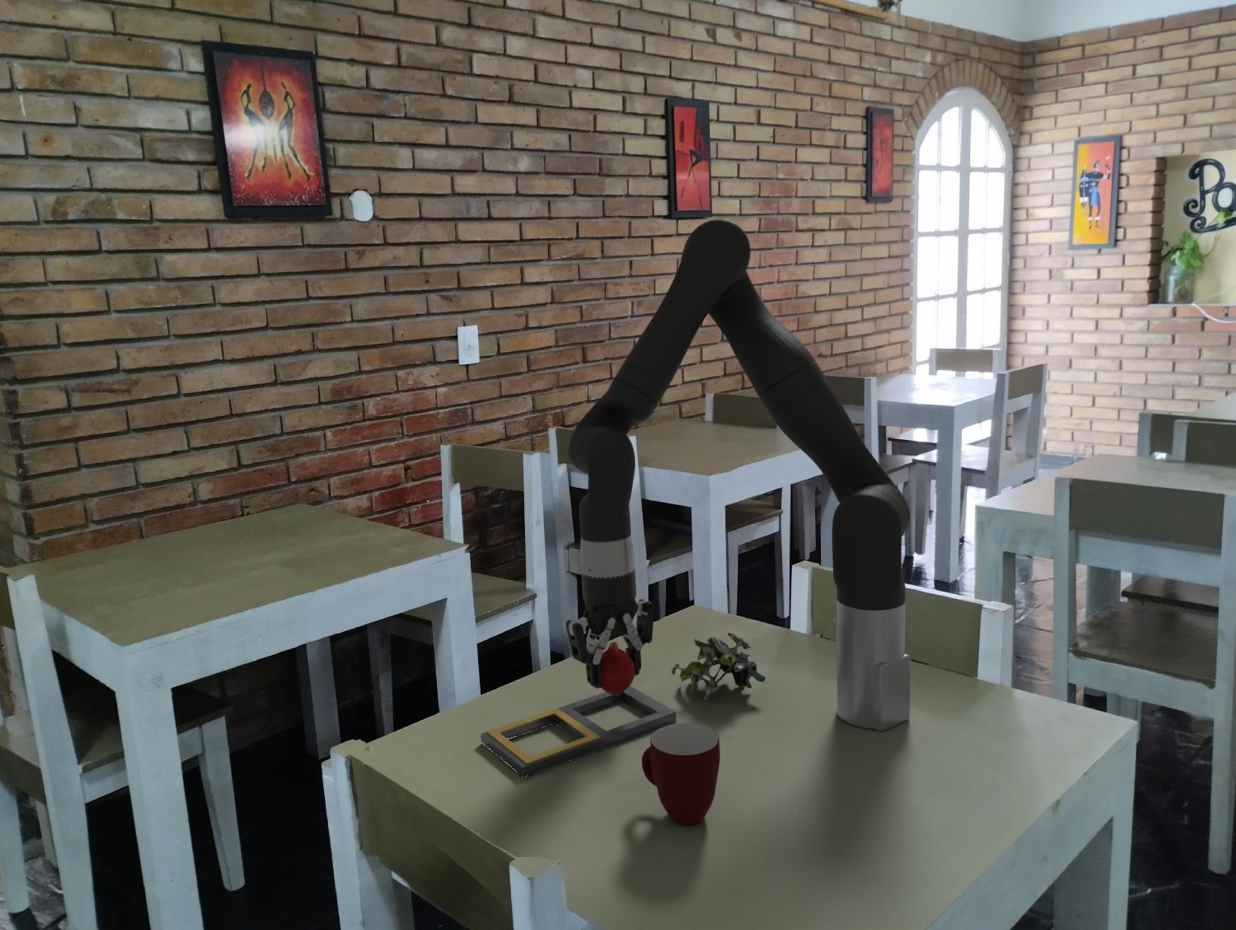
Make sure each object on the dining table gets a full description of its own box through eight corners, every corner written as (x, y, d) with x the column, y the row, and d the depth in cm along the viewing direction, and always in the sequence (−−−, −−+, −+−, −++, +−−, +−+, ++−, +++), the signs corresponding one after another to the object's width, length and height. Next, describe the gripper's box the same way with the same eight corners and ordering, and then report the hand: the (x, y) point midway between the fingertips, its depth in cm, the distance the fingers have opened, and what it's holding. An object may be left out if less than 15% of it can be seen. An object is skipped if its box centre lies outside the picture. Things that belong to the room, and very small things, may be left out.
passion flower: (739, 720, 149) (783, 668, 144) (696, 733, 141) (740, 679, 136) (696, 664, 155) (736, 613, 150) (652, 675, 147) (693, 621, 142)
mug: (622, 817, 114) (618, 739, 112) (659, 786, 121) (656, 712, 119) (699, 843, 108) (697, 762, 106) (733, 809, 115) (732, 732, 113)
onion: (632, 705, 134) (629, 651, 133) (592, 704, 136) (588, 650, 134) (639, 687, 140) (636, 635, 138) (600, 686, 141) (597, 635, 140)
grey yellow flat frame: (676, 721, 138) (675, 710, 138) (523, 778, 124) (522, 766, 124) (628, 693, 148) (627, 683, 147) (481, 743, 134) (480, 732, 134)
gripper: (579, 584, 127) (587, 703, 130) (665, 561, 135) (671, 673, 138) (549, 572, 133) (558, 686, 136) (633, 551, 141) (639, 659, 144)
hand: (615, 679), depth 137 cm, fingers closed on onion, 6 cm apart
